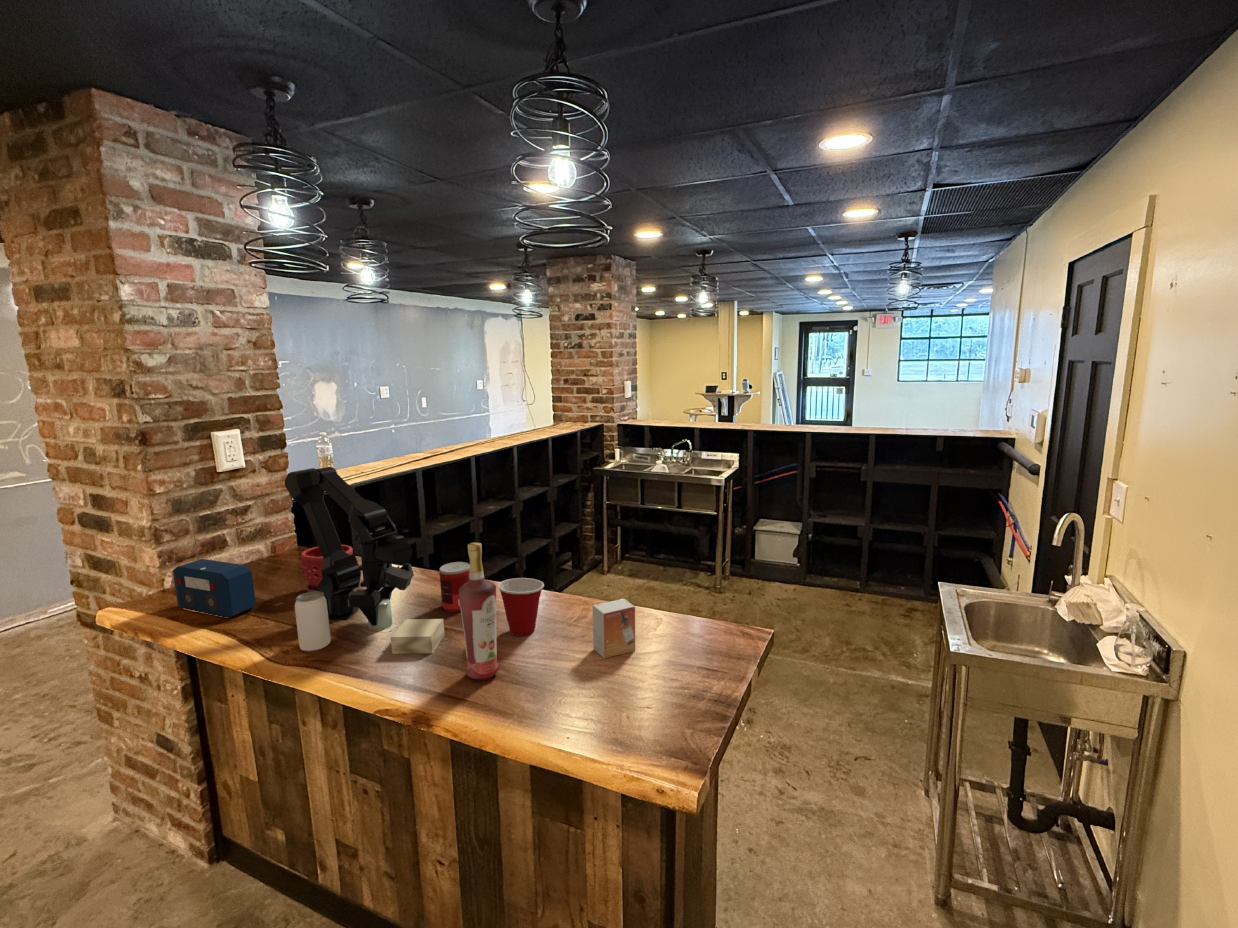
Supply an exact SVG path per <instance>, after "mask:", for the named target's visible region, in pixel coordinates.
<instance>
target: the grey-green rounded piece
mask: <svg viewBox="0 0 1238 928" xmlns="http://www.w3.org/2000/svg"><path fill="white" fill-rule="evenodd" d="M380 599H383V601H382V602H381V603H380V604H379V605H378V620H377V625H376V626H372V625H371V623H370V622H369V621H368V620H367V624H368V625H367V626H368V630H371V631H376V632H377V631H384V630H387V629H389V628H391V627H392V626H393V616H392V615H393V614H392V606H391V605H392V604H391V599H390V600H389V599H386V598H380Z"/></svg>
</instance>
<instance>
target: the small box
mask: <svg viewBox="0 0 1238 928" xmlns="http://www.w3.org/2000/svg"><path fill="white" fill-rule="evenodd" d="M592 637H593V638H592V640H593V641H592V648H593V650H594V651H595V652H596V653H598V654H599V655H600V656H601V657H602V658H603V659H607V658H611V657H615V656H618V655H623V654H627V653H633V652H636V606H634V605H633V604H632V603H630V602H629V601H628V600H627V599H625V598H620V599H615V600H612V601H607V602H603V603H597V604H596V603H595V604H592Z"/></svg>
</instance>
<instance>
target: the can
mask: <svg viewBox="0 0 1238 928" xmlns="http://www.w3.org/2000/svg"><path fill="white" fill-rule="evenodd" d="M323 595H324V594H323V593H322V592H308V591H307V592H305V593H301V594H299V595H298V596H296V598H295V603H294V612H295V613H294V614H295V622H296V630H297V637H298V644H299V649H300V650H301V651H303V652H315V651H316V652H317V651H319V650H322V649H324V648H327V647H328V646H329V644H330V643H331V641H332V640H331V631H330V630H331V629H330V619H328V610H327V602H326V598H325V597H324V596H323Z"/></svg>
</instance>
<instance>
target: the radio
mask: <svg viewBox="0 0 1238 928" xmlns="http://www.w3.org/2000/svg"><path fill="white" fill-rule="evenodd" d="M193 539H194V546H195V551H196V559H197V560H194V561H191V562H188V563H184V564H181V565H178V566H177V567H175V568H173V569H172V576H173V583H174V587H175V595H176V602H177V605H178V607H180V608H181V609H182V608H186V609H190V610H195V611H199V612H204V613H208V614H212V615H218V616H222V617H230V618H232V617H231V616H233V617H235V616H237V615H239V614H238V613H240V614H242V613H244V612H246V610H247V611H249V610H251V609H253V608H254V607H256V606H257V601H256V595H255V586H254V579H253V578H254V577H253V571H252V569H250V568H249V567H248V566H246V564H239V563H233V562H225V561H220V560H212V559H207V558H201V559H200V558H199V553H198V546H197V540H196V535H193ZM250 608H251V609H250ZM248 609H249V610H248ZM243 611H244V612H243ZM241 612H242V613H241ZM236 614H237V615H236ZM234 615H235V616H234Z"/></svg>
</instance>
